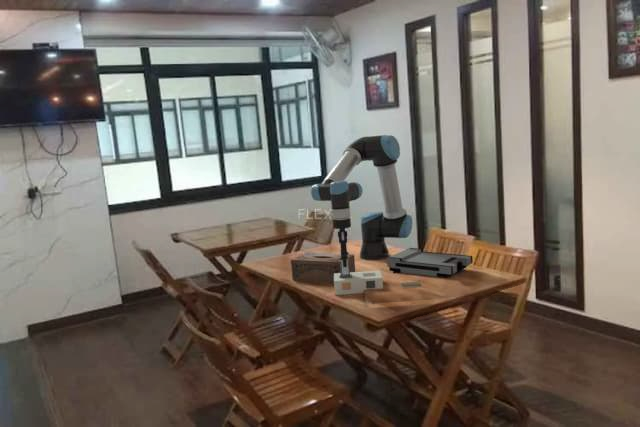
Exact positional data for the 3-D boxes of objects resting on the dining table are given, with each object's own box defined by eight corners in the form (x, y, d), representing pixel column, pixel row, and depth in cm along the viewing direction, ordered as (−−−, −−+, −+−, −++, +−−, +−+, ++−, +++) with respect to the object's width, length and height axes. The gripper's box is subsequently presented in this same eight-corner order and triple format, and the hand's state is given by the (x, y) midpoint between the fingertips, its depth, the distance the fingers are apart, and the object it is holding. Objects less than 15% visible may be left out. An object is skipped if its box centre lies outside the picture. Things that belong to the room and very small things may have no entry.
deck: (400, 286, 235) (400, 282, 235) (419, 284, 235) (419, 281, 235) (403, 291, 228) (402, 288, 227) (422, 290, 227) (422, 286, 227)
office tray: (451, 283, 236) (450, 264, 234) (388, 274, 256) (387, 257, 255) (472, 271, 251) (472, 253, 250) (411, 264, 272) (410, 247, 271)
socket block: (334, 286, 242) (333, 273, 242) (380, 283, 242) (379, 270, 241) (334, 295, 230) (333, 281, 229) (383, 291, 230) (382, 277, 229)
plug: (350, 286, 238) (348, 256, 236) (351, 288, 234) (349, 258, 232) (341, 286, 238) (339, 257, 236) (341, 289, 234) (339, 259, 232)
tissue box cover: (355, 275, 260) (354, 254, 258) (342, 283, 247) (340, 262, 246) (307, 272, 272) (305, 252, 270) (292, 280, 259) (290, 259, 258)
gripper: (332, 215, 241) (336, 267, 245) (332, 222, 222) (336, 278, 226) (349, 214, 241) (353, 265, 244) (351, 221, 222) (355, 277, 225)
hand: (345, 271), depth 235 cm, fingers open, 6 cm apart
